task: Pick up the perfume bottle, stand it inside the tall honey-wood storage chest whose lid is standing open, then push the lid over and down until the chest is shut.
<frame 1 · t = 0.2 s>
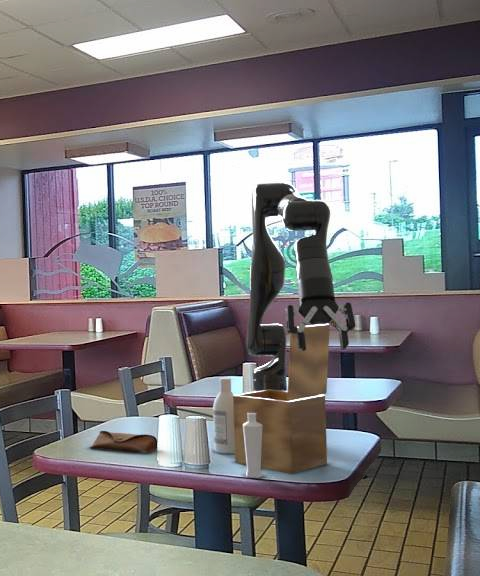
hand: (323, 349, 184), 31 cm above the table, tool tilted 20°, fingers open, 8 cm apart
sunglasses case: (123, 449, 233), on the table
bath foam: (227, 452, 225), on the table
chest: (280, 463, 209), on the table
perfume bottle: (254, 476, 197), on the table
chest lid: (308, 361, 201), point 26 cm above the table, hinge at 95.0°
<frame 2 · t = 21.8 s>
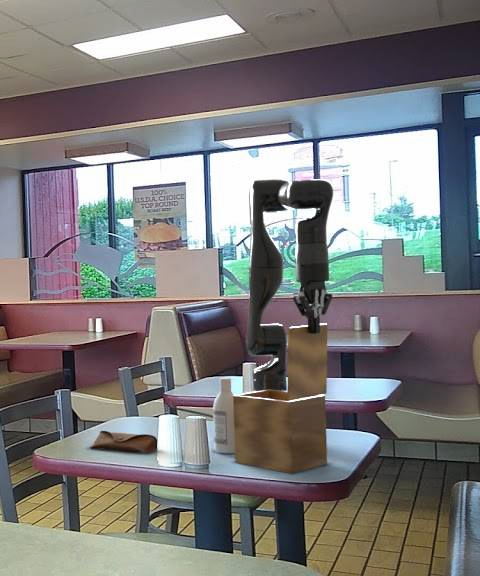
hand: (314, 333, 200), 33 cm above the table, tool pointing down, fingers closed
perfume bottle: (281, 460, 209), point 1 cm above the table, touching chest
chest lid: (307, 361, 201), point 27 cm above the table, hinge at 92.9°, touching gripper
everything else where it was.
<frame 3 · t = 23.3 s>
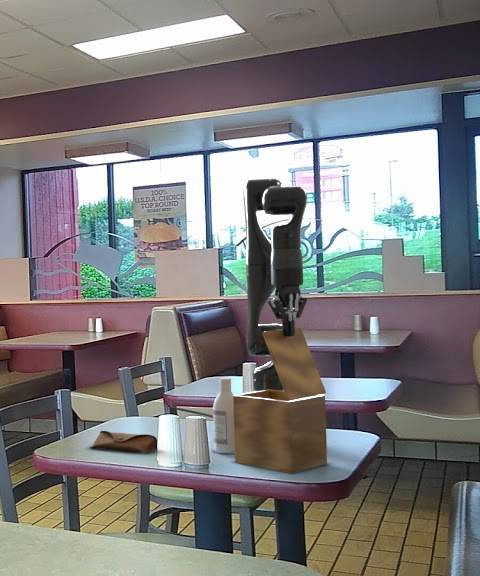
hand: (289, 336, 205), 32 cm above the table, tool pointing down, fingers closed
chest lid: (294, 362, 204), point 26 cm above the table, hinge at 67.5°, touching gripper
everything else where it was.
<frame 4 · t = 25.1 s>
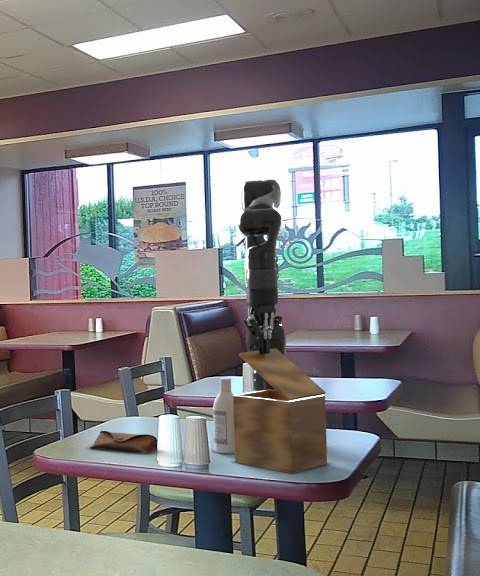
hand: (264, 353, 212), 28 cm above the table, tool pointing down, fingers closed
chest lid: (281, 373, 207), point 23 cm above the table, hinge at 35.9°, touching gripper
everything else where it was.
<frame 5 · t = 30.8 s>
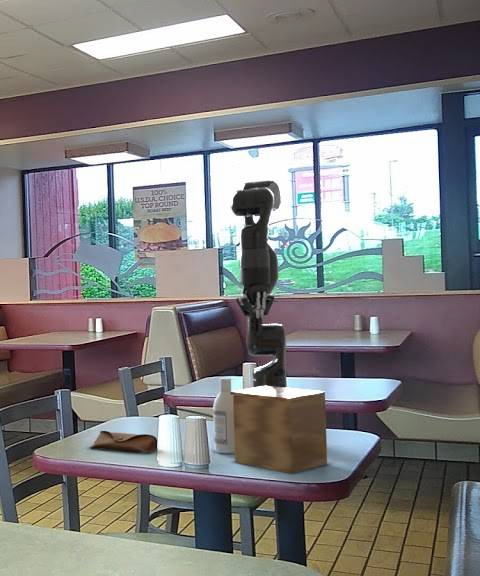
hand: (256, 332, 213), 33 cm above the table, tool pointing down, fingers closed
chest lid: (276, 393, 209), point 18 cm above the table, hinge at 0.0°
everything else where it was.
at the end: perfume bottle inside the target area in the chest (0.1 cm from its centre), point 0.6 cm above the chest's base; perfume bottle tilted 0°; chest lid at +0° (first picture: +95°) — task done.
